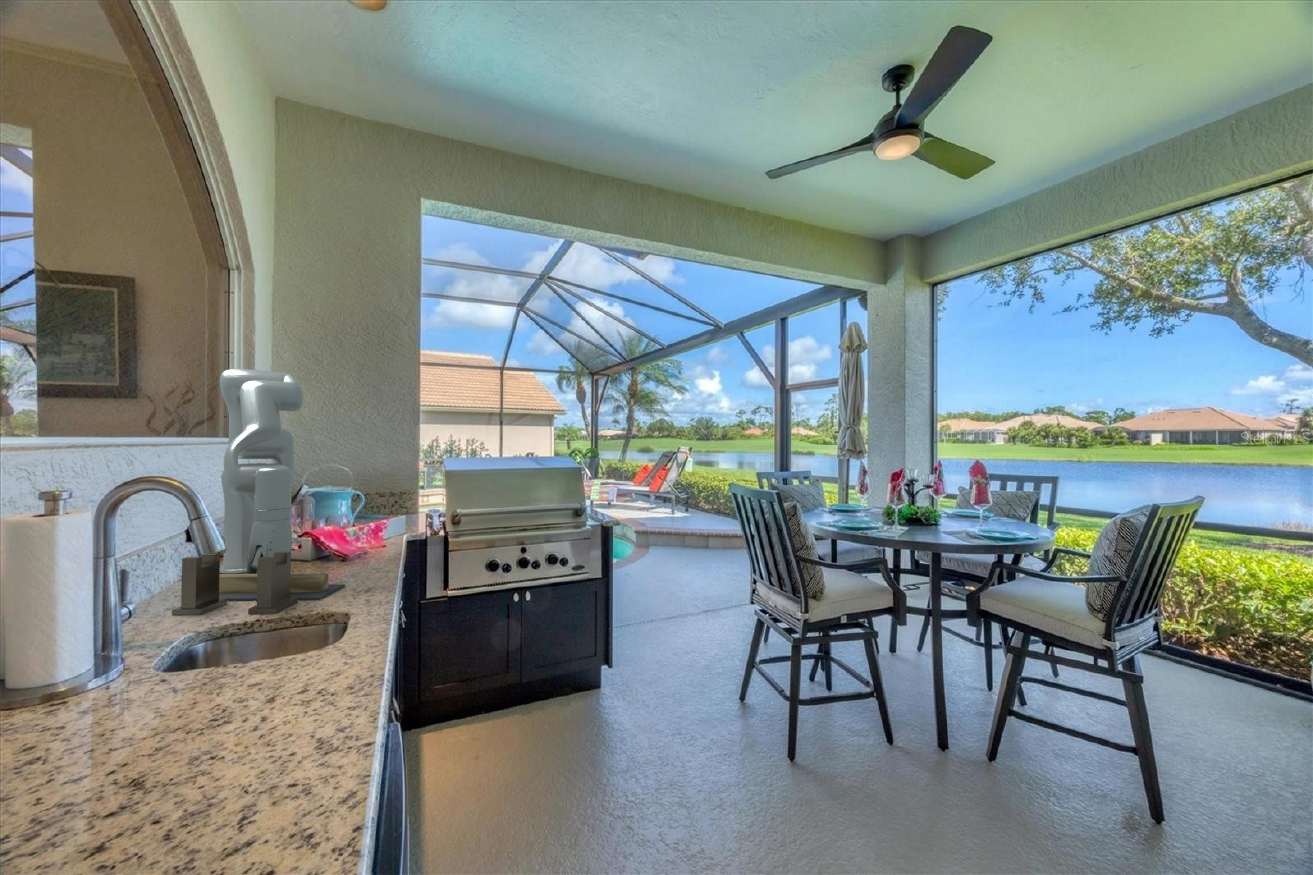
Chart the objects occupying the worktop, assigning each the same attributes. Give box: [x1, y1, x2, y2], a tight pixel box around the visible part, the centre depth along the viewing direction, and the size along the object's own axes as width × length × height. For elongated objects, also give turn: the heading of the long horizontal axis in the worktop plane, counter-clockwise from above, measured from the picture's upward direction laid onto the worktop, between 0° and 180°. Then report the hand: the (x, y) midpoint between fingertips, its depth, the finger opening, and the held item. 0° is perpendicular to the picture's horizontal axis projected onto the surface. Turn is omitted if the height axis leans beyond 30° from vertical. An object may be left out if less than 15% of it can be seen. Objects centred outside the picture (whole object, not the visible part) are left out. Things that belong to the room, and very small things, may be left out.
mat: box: [219, 583, 346, 602], centre depth 132 cm, size 12×30×1 cm, turn 95°
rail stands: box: [171, 551, 299, 616], centre depth 120 cm, size 8×22×12 cm, turn 95°
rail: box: [219, 572, 329, 593], centre depth 132 cm, size 3×26×4 cm, turn 95°
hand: (271, 586), depth 132 cm, fingers closed on rail, 3 cm apart
